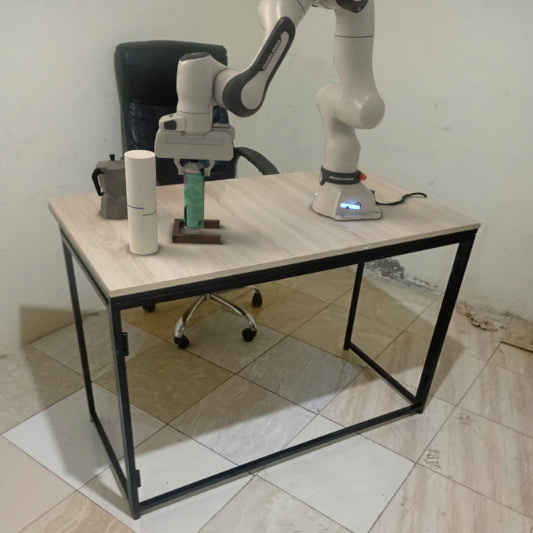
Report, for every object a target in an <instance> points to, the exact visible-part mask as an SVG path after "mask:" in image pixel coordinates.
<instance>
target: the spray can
mask: <svg viewBox="0 0 533 533" xmlns="http://www.w3.org/2000/svg"><path fill="white" fill-rule="evenodd" d="M199 160H200V159H189V161H188V162H187V163H185V164H184V165H183V167H184V175H183V219H184V227H183V228H184V229H185V230H186V231H190V232H199V231H201V230H203V229H205V228H204V219H205V188H206V187H205V185H206V184H205V182H206V180H205V179H206V176H204V173H205V172H204V169H205V168H206V167H205V165H204V164H202V162H201V161H199Z"/></svg>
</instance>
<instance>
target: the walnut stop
mask: <svg viewBox="0 0 533 533" xmlns="http://www.w3.org/2000/svg"><path fill="white" fill-rule="evenodd" d="M220 225H221V219H211V218H210V219H209V218H208V219H206V218H204V228H203V229H207V228H208V229H220V227H221V226H220ZM180 228H184V218H176V217H175V218H174V219H173V227H172V234H171V243H172V244H174V243H175V244H176V243H177V244H213V245H214V244H219V245H220V244H221V243H222V237H221V234H207V233H205V234H200V233H199V234H198V233H180Z"/></svg>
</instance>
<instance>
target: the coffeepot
mask: <svg viewBox="0 0 533 533" xmlns="http://www.w3.org/2000/svg"><path fill="white" fill-rule="evenodd" d="M108 157H109V159H106V160H101V161H98V162H97V163H96V164H95V168H93V171H92V173H91V180H92V182H93V185H94V189H95V191H96V193H97V196H98V197H101V198H100V208H99V215H100V216H101V217H102V218H104V219H107V220H122V219H123V220H124V219H126V218H128V208H127V191H126V174H125V159H116V154H114V153H110V154H109V156H108Z"/></svg>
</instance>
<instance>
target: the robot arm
mask: <svg viewBox="0 0 533 533" xmlns="http://www.w3.org/2000/svg"><path fill="white" fill-rule="evenodd" d="M311 7H313V8H320V9H325V10H333V12H334V14H335V15H334V16H335V23H334V34H333V35H334V38H333V56H332V64H333V67H334V69H335V71H336V72H337V74H338V77H339V80H340V82H329V83H328V82H327V83H325V84H324V85H323V86H321V87H320V88H319V90H318V91H317V94H316V97H315V106H316V108H317V111H318V112H319V114H320V117H321V121H322V125H323V132H324V133H323V134H324V149H323V158H322V165H321V166H320V170H319V175H318V183H319V185H318V189H317V192H316V193H315V198H314V200H313V203H312V205H311V209H312V210H313V211H314V212H316V213H318V214H320V215H322V216H325V217H329V218H332V219H334V220H336V221H358V220H376V219H380V218H381V215H382V212H381V210H380V208H379V207H378V205H379V206H395V205H398V204H401V203H403V202H404V201H405V200H406V198H407V197H412V196H423V197H424V198H426V199H428V198H429V197H428V195H427V194H426V193H424V192H417V191H416V192H411V193H407V194H404V195H402V197H401V199H400V200H397V201H392V202H388V203H382V202H379V201H377V199H376V195H375V194H376V190H373V189H370V188H369V187H368V186H367V185H366V184H365V183H363V181H366V180H367V179H368V176H367V174H365V173H364V172H362V171H361V170H360V169H358V167H359V161H360V154H361V143H360V140H359V139H358V137H357V134H356V130H355V129H357V130H373V129H375V128H377V127H378V126H379V125H380V124H381V123H382V121H383V119H384V118H385V114H386V104H385V101H384V99H383V98H382V97H381V94H380V93H379V90H378V88H377V85H376V81H375V77H374V69H373V57H374V56H373V54H374V40H375V30H376V29H375V27H376V11H375V1H374V0H260V1H259V3H258V6H257V8H256V12H257V13H256V15H257V20H258V23H259V25H260V27H261V28H262V30H263V31H264V39H263V41H262V43H261V45H260V47H259V49H258V51H257V52H256V54H255V55H254V57H253V59H252V61H251V62H250V64H249V65H248V67H247V68H245V69H243V70H237V69H235V68H232V67H229V66H227V65H225V64H223V63H221V62H220V61H218V60H216V59H215V58H214V57H213V56H212V55H211V54H210V53H209V52H206V51H194V52H189V53H186V54H184V55H182V56H181V57H180V58H179V59H178V60H179V61H178V64H177V71H176V95H177V98H178V101H177V105H176V112H174V113H171V114H166V115H162V116H161V117H160V118H159V121H158V127H159V128H158V130H157V132H156V135H155V138H154V139H155V140H154V151H153V152H154V153H155V157H157V158H159V159H162V158H163V159H173V163H174V164H175V166H176V168H177V169H178V175H179V176H184V166H181V163H180V161H181V159H183V160H184V159H185V160H191V159H198V160H203V161H205V160H207V161H208V164H209V165H208V166H207V167H204V168H205V169H204V172H205V173H204V176H205V177H210V176H211V170H212V169H213V167H214V166H215V161H226V162H227V161H229V162H230V161H231V160H232V159H233V158H234V144H233V141H234V140H235V139H236V129H235V127H234V126H233V125H231V124H230V123H219V122H213V109H214V107H215V106H216V107H217V106H219V107H221V108H223V109H225V110H226V111H228V112H230V113H232V114H233V115H234V116H236V117H239V118H249V117H252V116H253V115H255V114H257V113H258V112H259V110H260V109H261V108H262V107H263V104H264V102H265V100H266V96H267V93H268V89H269V88H270V84H271V83H272V81H273V79H274V77H275V75H276V74H277V72H278V70H279V68H280V67H281V64H282V63H283V61H284V59H285V58H286V56H287V55H288V53H289V50H290V49H291V47H292V45H293V43H294V41H295V37H296V31H297V29H298V27H299V25H300V23H301V22H302V20H303V19H304V18H305V16H306V14H307V13H308V11H309V10H310V9H311Z"/></svg>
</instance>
